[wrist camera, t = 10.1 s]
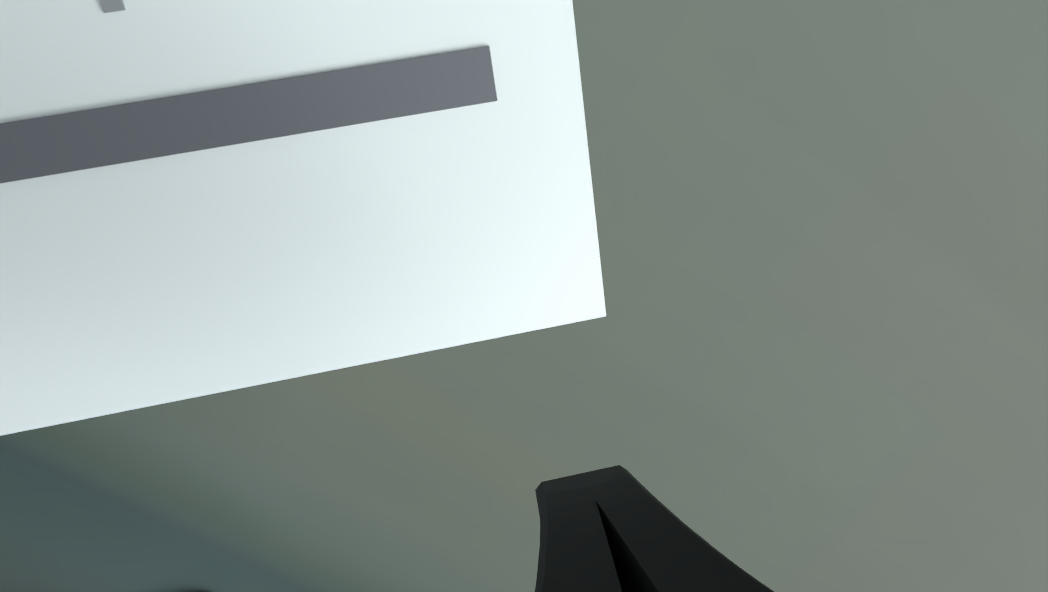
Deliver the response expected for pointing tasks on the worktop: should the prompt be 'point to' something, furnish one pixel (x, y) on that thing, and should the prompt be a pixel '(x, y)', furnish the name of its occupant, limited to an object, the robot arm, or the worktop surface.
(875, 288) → the worktop surface
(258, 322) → the fader console
